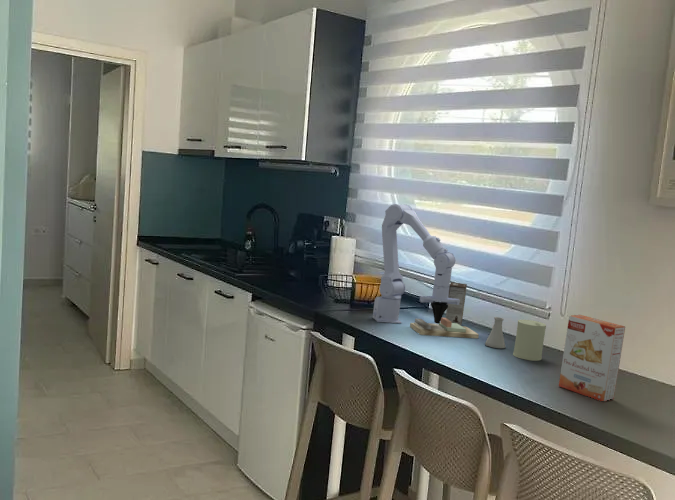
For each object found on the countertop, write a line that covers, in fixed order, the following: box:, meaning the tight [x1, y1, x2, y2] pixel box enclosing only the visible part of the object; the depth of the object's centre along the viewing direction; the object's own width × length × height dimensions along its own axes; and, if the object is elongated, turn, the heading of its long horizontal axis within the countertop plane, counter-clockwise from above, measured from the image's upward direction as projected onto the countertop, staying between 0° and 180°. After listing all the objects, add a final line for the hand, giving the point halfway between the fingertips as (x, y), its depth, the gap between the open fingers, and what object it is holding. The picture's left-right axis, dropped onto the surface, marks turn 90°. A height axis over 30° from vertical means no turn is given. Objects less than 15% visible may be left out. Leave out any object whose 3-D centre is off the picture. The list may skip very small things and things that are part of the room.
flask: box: [484, 316, 506, 350], centre depth 239 cm, size 7×7×10 cm
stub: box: [438, 317, 466, 332], centre depth 252 cm, size 7×9×3 cm
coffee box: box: [445, 281, 467, 326], centre depth 267 cm, size 9×6×16 cm
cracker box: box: [558, 314, 626, 402], centre depth 192 cm, size 14×6×21 cm, turn 40°
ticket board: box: [409, 318, 479, 339], centre depth 252 cm, size 22×12×3 cm, turn 101°
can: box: [512, 319, 547, 362], centre depth 228 cm, size 9×9×12 cm
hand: (436, 322), depth 251 cm, fingers closed
